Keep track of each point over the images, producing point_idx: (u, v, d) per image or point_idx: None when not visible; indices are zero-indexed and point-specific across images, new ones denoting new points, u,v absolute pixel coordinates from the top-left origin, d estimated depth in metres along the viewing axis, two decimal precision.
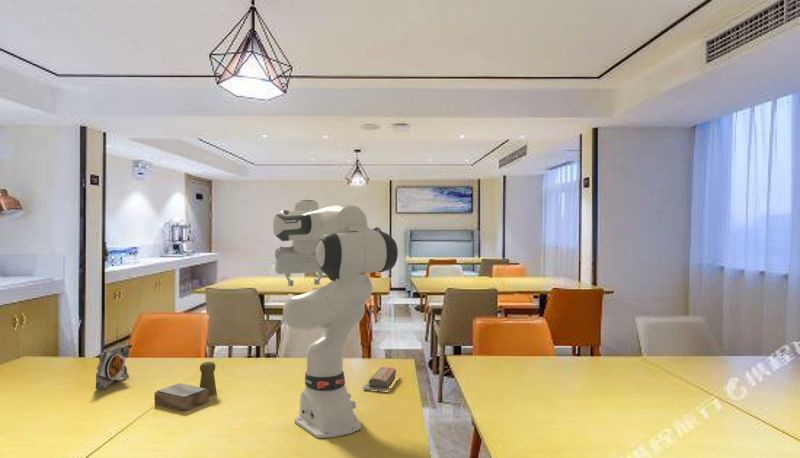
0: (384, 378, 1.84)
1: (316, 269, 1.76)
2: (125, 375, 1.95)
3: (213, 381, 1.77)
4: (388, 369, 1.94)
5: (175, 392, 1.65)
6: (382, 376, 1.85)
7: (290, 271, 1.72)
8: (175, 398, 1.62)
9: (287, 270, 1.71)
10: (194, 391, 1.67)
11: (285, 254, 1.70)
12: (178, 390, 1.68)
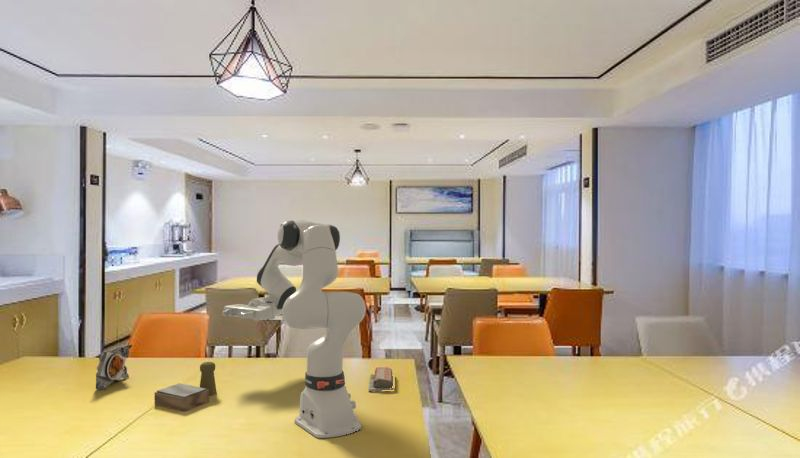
0: (388, 378, 1.84)
1: (251, 308, 1.92)
2: (125, 375, 1.95)
3: (213, 381, 1.77)
4: (385, 369, 1.94)
5: (175, 392, 1.65)
6: (385, 376, 1.85)
7: (232, 306, 1.96)
8: (175, 398, 1.62)
9: (231, 306, 1.97)
10: (194, 391, 1.67)
11: (240, 304, 2.02)
12: (178, 390, 1.68)
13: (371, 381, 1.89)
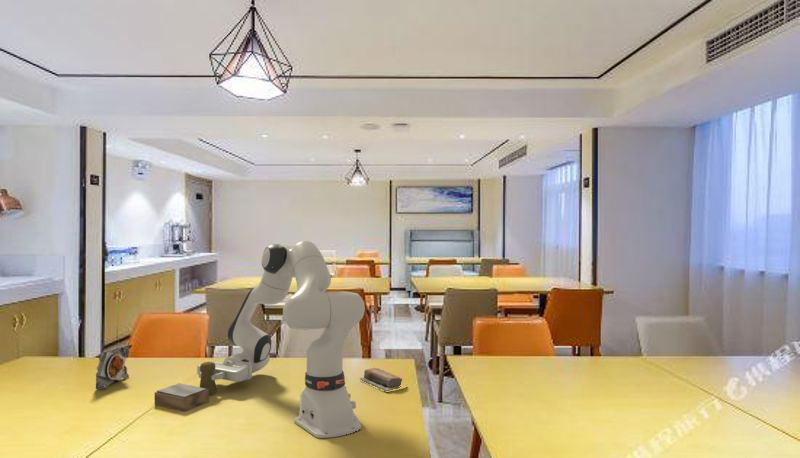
0: (396, 376, 1.86)
1: (226, 369, 1.81)
2: (125, 375, 1.95)
3: (213, 381, 1.77)
4: (377, 369, 1.94)
5: (175, 392, 1.65)
6: (391, 375, 1.87)
7: None
8: (175, 398, 1.62)
9: None
10: (194, 391, 1.67)
11: None
12: (178, 390, 1.68)
13: (373, 383, 1.87)
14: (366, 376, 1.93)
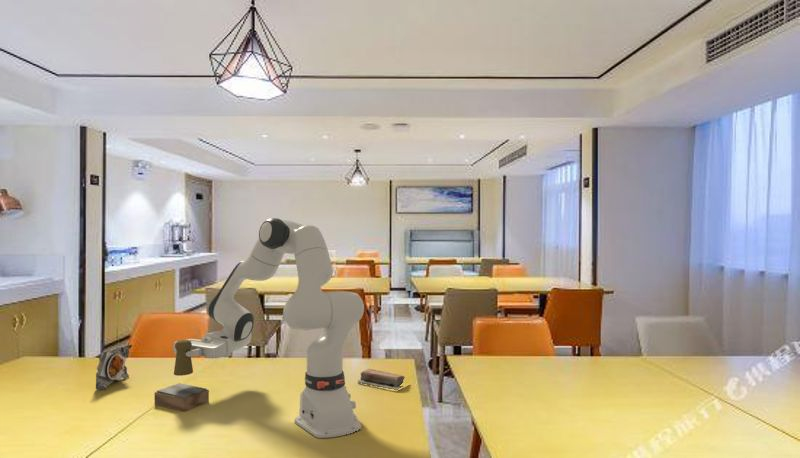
0: None
1: (203, 345, 1.71)
2: (125, 375, 1.95)
3: (189, 360, 1.68)
4: (373, 370, 1.93)
5: (175, 392, 1.65)
6: (393, 374, 1.88)
7: None
8: (175, 398, 1.62)
9: None
10: (194, 391, 1.67)
11: (193, 339, 1.81)
12: (178, 390, 1.68)
13: (377, 384, 1.85)
14: (364, 378, 1.90)
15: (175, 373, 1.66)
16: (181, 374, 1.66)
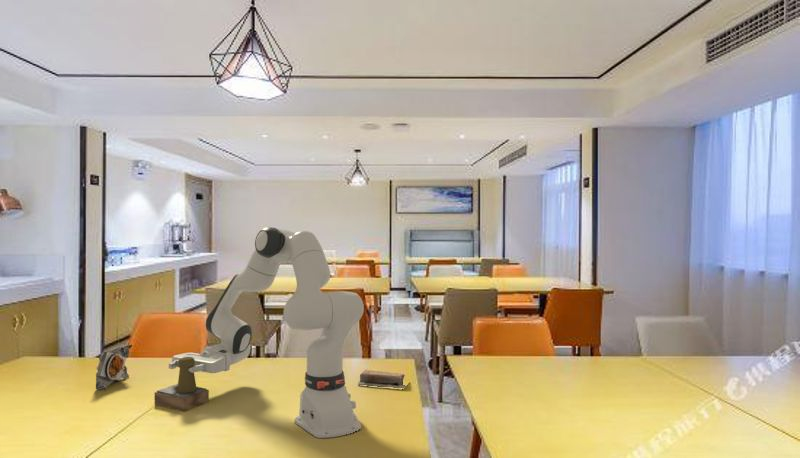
0: None
1: (201, 360, 1.71)
2: (125, 375, 1.95)
3: (193, 377, 1.67)
4: (371, 371, 1.91)
5: (175, 392, 1.65)
6: (394, 373, 1.89)
7: (181, 357, 1.74)
8: (175, 398, 1.62)
9: (180, 356, 1.75)
10: (194, 391, 1.67)
11: None
12: None
13: (380, 384, 1.85)
14: (363, 380, 1.88)
15: (179, 391, 1.65)
16: (185, 392, 1.64)
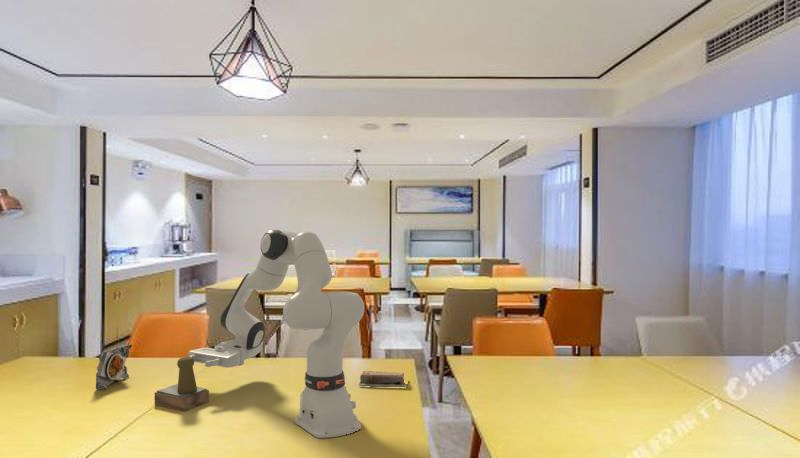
0: None
1: (217, 354, 1.77)
2: (125, 375, 1.95)
3: (193, 377, 1.67)
4: (370, 372, 1.91)
5: (175, 392, 1.65)
6: (394, 373, 1.90)
7: (197, 352, 1.81)
8: (175, 398, 1.62)
9: (196, 351, 1.82)
10: (194, 391, 1.67)
11: (207, 348, 1.87)
12: None
13: (382, 385, 1.85)
14: (364, 381, 1.87)
15: (179, 391, 1.65)
16: (185, 392, 1.64)
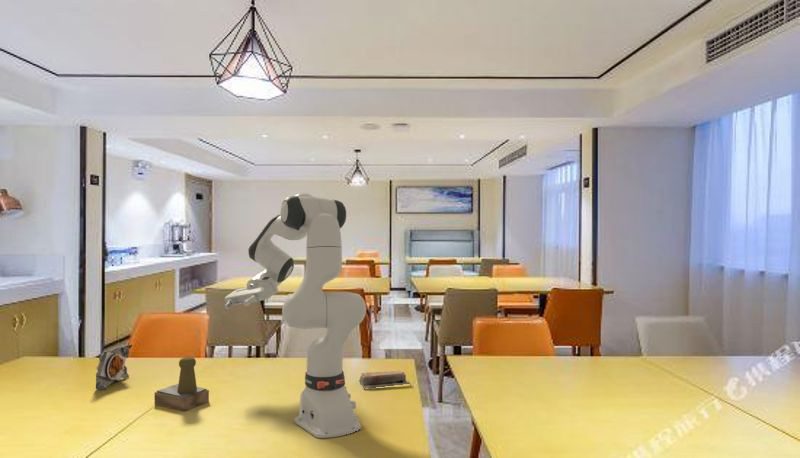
0: (395, 371, 1.93)
1: (251, 292, 1.84)
2: (125, 375, 1.95)
3: (194, 377, 1.67)
4: (369, 373, 1.89)
5: (175, 392, 1.65)
6: (393, 371, 1.91)
7: (232, 295, 1.88)
8: (175, 398, 1.62)
9: (231, 295, 1.89)
10: None
11: None
12: None
13: (386, 384, 1.85)
14: (367, 383, 1.85)
15: (179, 391, 1.65)
16: (185, 392, 1.64)
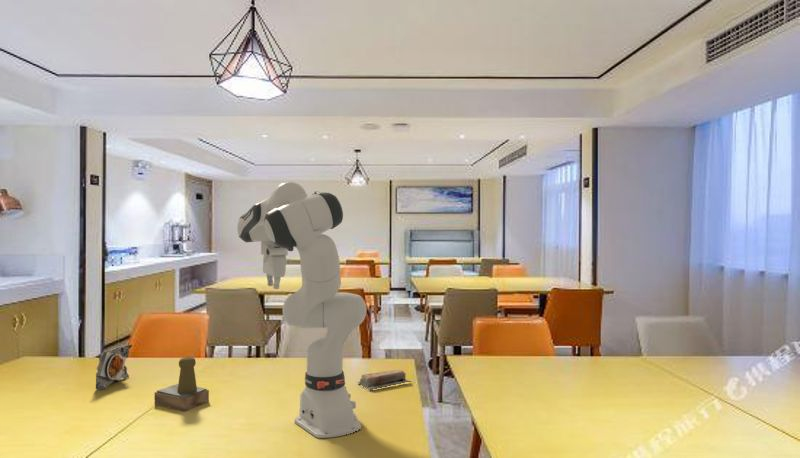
0: (393, 370, 1.94)
1: (270, 272, 1.79)
2: (125, 375, 1.95)
3: (194, 377, 1.67)
4: (370, 374, 1.87)
5: (175, 392, 1.65)
6: (391, 371, 1.92)
7: (265, 271, 1.87)
8: (175, 398, 1.62)
9: (264, 270, 1.88)
10: None
11: (264, 255, 1.89)
12: None
13: (389, 384, 1.86)
14: (371, 384, 1.83)
15: (179, 391, 1.65)
16: (185, 392, 1.64)
